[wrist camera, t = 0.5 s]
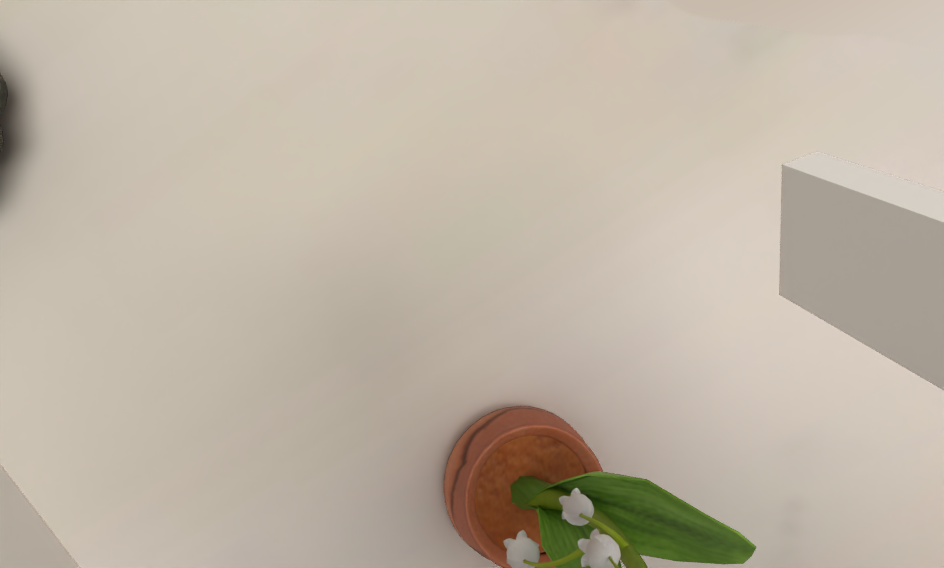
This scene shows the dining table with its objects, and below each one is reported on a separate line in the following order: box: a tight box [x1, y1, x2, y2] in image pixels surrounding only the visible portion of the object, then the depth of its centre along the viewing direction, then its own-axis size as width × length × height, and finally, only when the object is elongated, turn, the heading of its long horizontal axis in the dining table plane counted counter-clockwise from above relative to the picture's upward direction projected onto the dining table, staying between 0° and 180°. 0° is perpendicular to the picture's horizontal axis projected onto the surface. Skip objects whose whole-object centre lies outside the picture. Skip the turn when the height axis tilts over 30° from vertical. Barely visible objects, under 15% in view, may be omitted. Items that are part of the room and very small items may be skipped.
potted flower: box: [444, 406, 756, 568], centre depth 33 cm, size 12×10×25 cm
